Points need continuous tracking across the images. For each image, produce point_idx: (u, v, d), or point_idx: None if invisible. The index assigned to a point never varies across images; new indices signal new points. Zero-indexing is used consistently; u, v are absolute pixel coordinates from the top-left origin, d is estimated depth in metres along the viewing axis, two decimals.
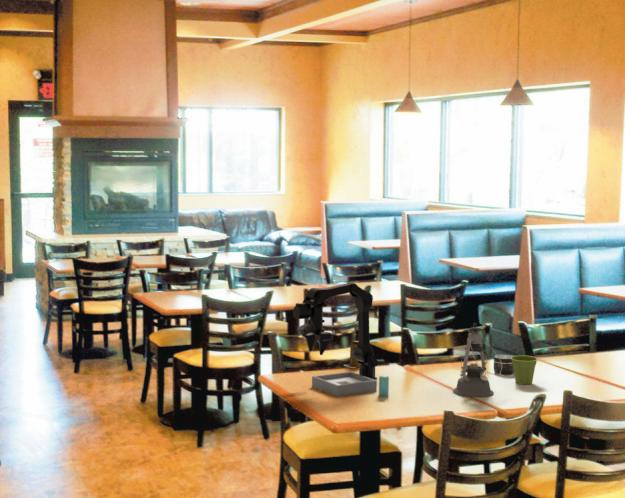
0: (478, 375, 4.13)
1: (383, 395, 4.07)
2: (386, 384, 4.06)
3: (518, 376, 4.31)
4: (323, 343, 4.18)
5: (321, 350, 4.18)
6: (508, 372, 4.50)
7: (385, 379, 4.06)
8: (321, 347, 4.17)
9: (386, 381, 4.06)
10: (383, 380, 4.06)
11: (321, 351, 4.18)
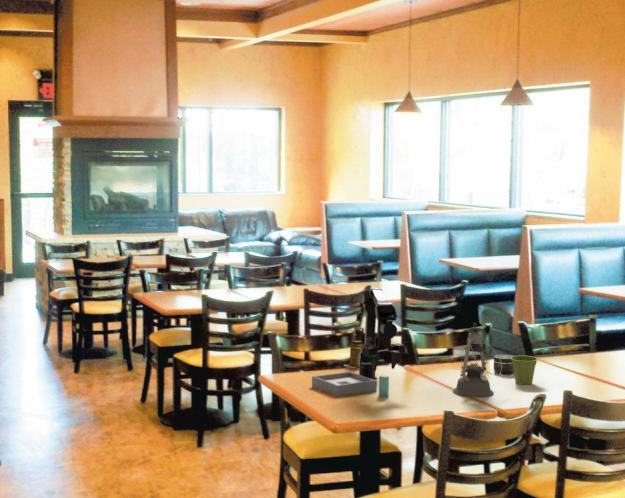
0: (478, 375, 4.13)
1: (383, 395, 4.07)
2: (386, 384, 4.06)
3: (518, 376, 4.31)
4: (373, 359, 4.04)
5: (372, 366, 4.05)
6: (508, 372, 4.50)
7: (385, 379, 4.06)
8: (371, 362, 4.05)
9: (386, 381, 4.06)
10: (383, 380, 4.06)
11: (373, 367, 4.05)
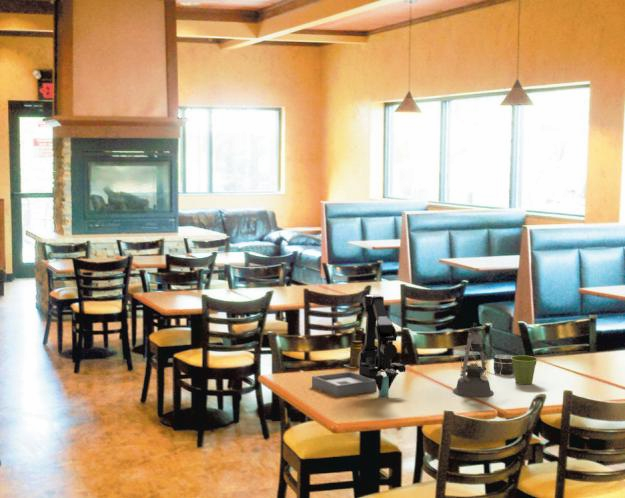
0: (478, 375, 4.13)
1: (383, 395, 4.07)
2: (386, 384, 4.06)
3: (518, 376, 4.31)
4: (377, 378, 4.06)
5: (377, 385, 4.07)
6: (508, 372, 4.50)
7: (385, 379, 4.06)
8: (376, 382, 4.07)
9: (386, 381, 4.06)
10: (383, 380, 4.06)
11: (377, 386, 4.07)
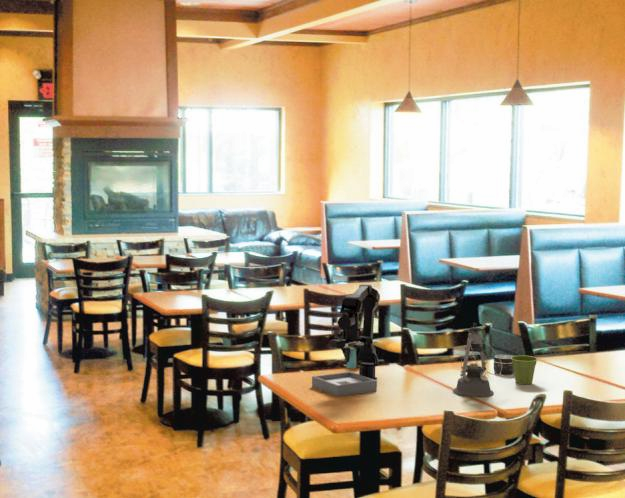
0: (478, 375, 4.13)
1: (351, 367, 4.15)
2: (354, 356, 4.15)
3: (518, 376, 4.31)
4: (345, 350, 4.14)
5: (345, 357, 4.15)
6: (508, 372, 4.50)
7: (353, 351, 4.14)
8: (344, 354, 4.15)
9: (354, 353, 4.14)
10: (351, 352, 4.14)
11: (345, 358, 4.15)
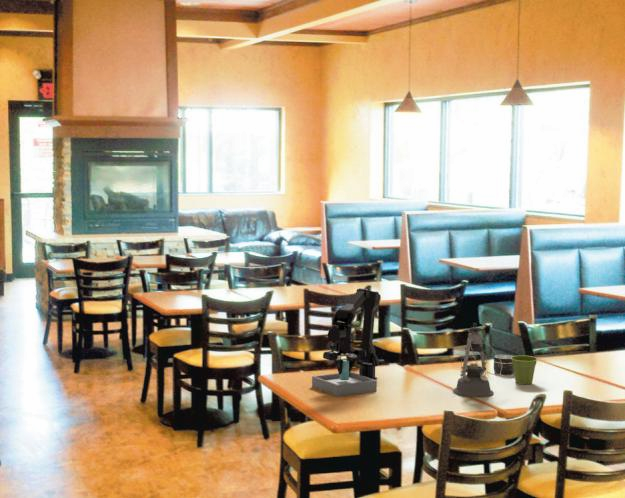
0: (478, 375, 4.13)
1: (343, 379, 4.17)
2: (346, 368, 4.17)
3: (518, 376, 4.31)
4: (338, 362, 4.17)
5: (338, 369, 4.18)
6: (508, 372, 4.50)
7: (345, 363, 4.17)
8: (337, 366, 4.18)
9: (346, 365, 4.17)
10: (343, 364, 4.17)
11: (338, 370, 4.18)
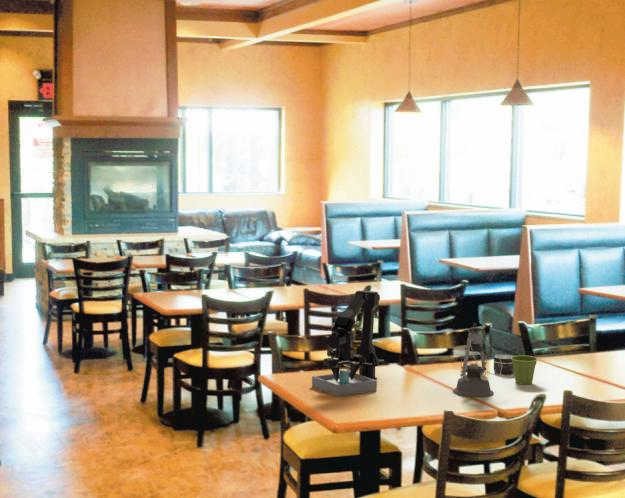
0: (478, 375, 4.13)
1: None
2: (346, 378, 4.17)
3: (518, 376, 4.31)
4: (335, 370, 4.16)
5: (334, 377, 4.17)
6: (508, 372, 4.50)
7: (345, 373, 4.17)
8: (333, 373, 4.17)
9: (346, 375, 4.17)
10: (343, 374, 4.17)
11: (335, 377, 4.17)
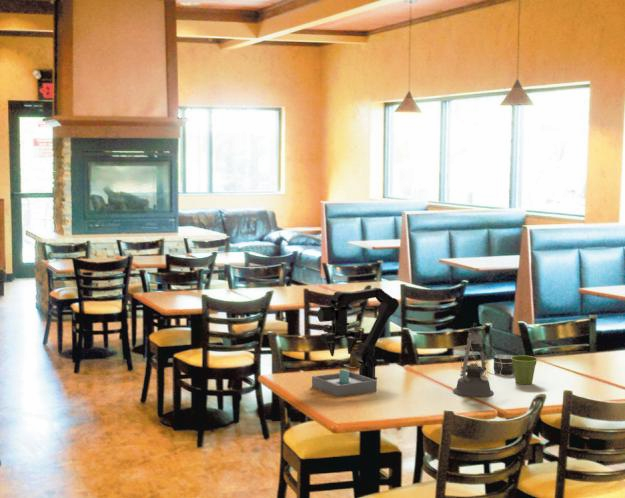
0: (478, 375, 4.13)
1: None
2: (346, 378, 4.17)
3: (518, 376, 4.31)
4: (330, 345, 4.28)
5: (330, 352, 4.30)
6: (508, 372, 4.50)
7: (345, 373, 4.17)
8: (329, 348, 4.29)
9: (346, 375, 4.17)
10: (343, 374, 4.17)
11: (330, 352, 4.29)
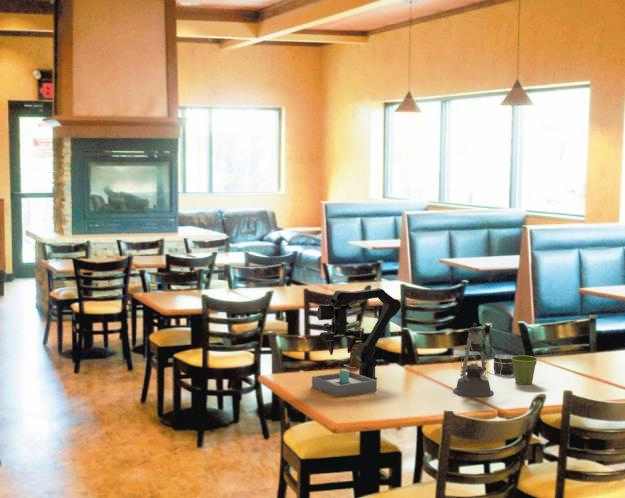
0: (478, 375, 4.13)
1: None
2: (346, 378, 4.17)
3: (518, 376, 4.31)
4: (329, 343, 4.30)
5: (329, 350, 4.31)
6: (508, 372, 4.50)
7: (345, 373, 4.17)
8: (328, 347, 4.31)
9: (346, 375, 4.17)
10: (343, 374, 4.17)
11: (329, 351, 4.31)
